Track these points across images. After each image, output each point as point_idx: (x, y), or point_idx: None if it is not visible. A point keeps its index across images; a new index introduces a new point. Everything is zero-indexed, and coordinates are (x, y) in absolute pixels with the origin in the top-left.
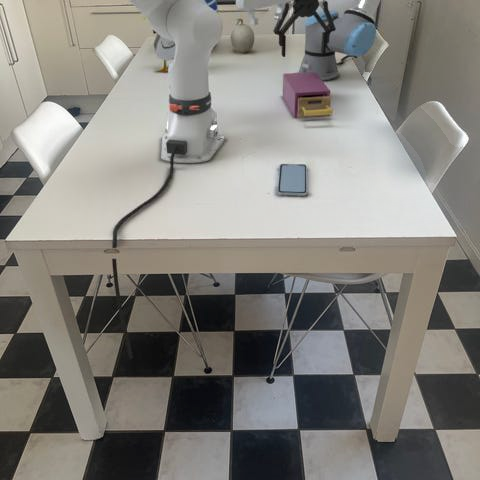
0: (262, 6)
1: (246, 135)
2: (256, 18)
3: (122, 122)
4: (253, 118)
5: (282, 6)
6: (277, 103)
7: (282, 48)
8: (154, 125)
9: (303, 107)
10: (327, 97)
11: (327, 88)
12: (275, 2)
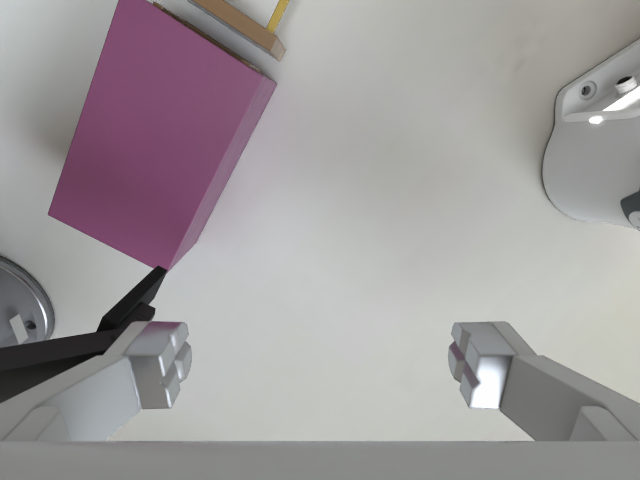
0: (512, 451)
1: (486, 76)
2: (485, 367)
3: (623, 363)
4: (376, 168)
5: (39, 412)
6: (242, 212)
7: (144, 301)
8: (592, 303)
9: (272, 21)
10: None
11: (116, 20)
12: (177, 472)
